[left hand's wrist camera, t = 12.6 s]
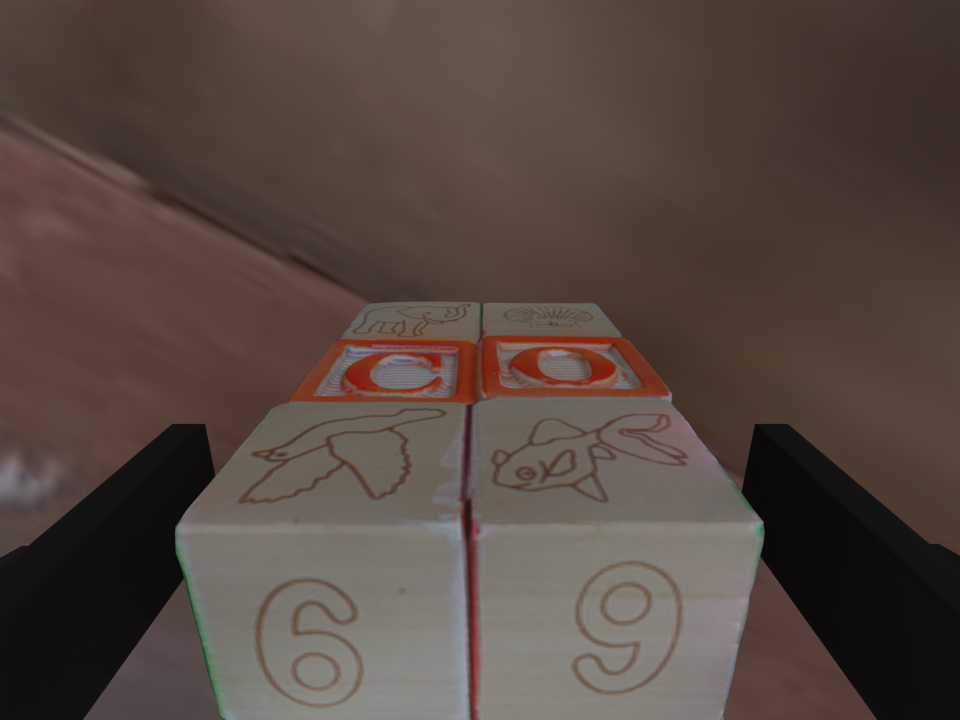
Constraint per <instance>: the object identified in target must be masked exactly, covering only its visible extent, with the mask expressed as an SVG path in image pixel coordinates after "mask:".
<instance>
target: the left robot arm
mask: <svg viewBox="0 0 960 720" xmlns="http://www.w3.org/2000/svg"><path fill="white" fill-rule="evenodd" d="M214 478H215V472H214V467H213V462H212V457H211V452H210V447H209V442H208V437H207V432H206V427H205V424H172V425H171V426H170V427H168V428H167V429H166V430H165V431H164V432H162V433H161V434H160V435H159V436H158V437H157V438H155V439H154V440H153V441H152V442H151V443H149V444H148V445H147V446H146V447H145V448H144V449H142V450H141V451H140V452H139V453H138V454H136V455H135V456H134V457H133V458H132V459H130V460H129V461H128V462H127V463H126V464H125V465H123V466H122V467H121V468H120V469H119V470H117V471H116V472H115V473H114V474H113V475H112V476H110V477H109V478H108V479H107V480H106V481H104V482H103V483H102V484H101V485H100V486H99V487H97V488H96V489H95V490H94V491H93V492H91V493H90V494H89V495H88V496H87V497H86V498H84V499H83V500H82V501H81V502H80V503H78V504H77V505H76V506H75V507H74V508H73V509H71V510H70V511H69V512H68V513H67V514H65V515H64V516H63V517H62V518H61V519H60V520H58V521H57V522H56V523H55V524H54V525H52V526H51V527H50V528H49V529H48V530H47V531H45V532H44V533H43V534H42V535H41V536H39V537H38V538H37V539H36V540H35V541H34V542H32V543H31V544H30V545H29V546H21V547H19V548H17V549H16V550H14V551H12V552H10V553H8V554H7V555H5V556H3V557H1V558H0V720H83V719H84V717H85V716H86V715H87V713H88V712H89V710H90V709H91V708H92V706H93V705H94V703H95V702H96V701H97V699H98V698H99V696H100V695H101V694H102V692H103V691H104V689H105V688H106V687H107V685H108V684H109V682H110V681H111V680H112V678H113V677H114V675H115V674H116V673H117V671H118V670H119V668H120V667H121V666H122V664H123V663H124V661H125V660H126V659H127V657H128V656H129V654H130V653H131V652H132V650H133V649H134V647H135V646H136V645H137V643H138V642H139V640H140V639H141V638H142V636H143V635H144V633H145V632H146V631H147V629H148V628H149V626H150V625H151V624H152V622H153V621H154V619H155V618H156V617H157V615H158V614H159V612H160V611H161V610H162V608H163V607H164V605H165V604H166V603H167V601H168V600H169V598H170V597H171V596H172V594H173V593H174V591H175V590H176V589H177V587H178V586H179V584H180V583H181V582H182V580H183V579H184V576H183V572H182V569H181V566H180V563H179V560H178V557H177V555H176V543H175V527H176V525H177V524H178V522H179V521H180V519H181V518H182V516H183V515H184V514H185V512H186V511H187V509H188V508H189V507H190V506H191V505H192V503H193V502H194V501H195V500H196V499H197V498H198V496H199V495H200V494H201V493H202V492H203V491H204V489H205V488H206V487H207V486H208V485H209V484H210V482H211V481H212V480H213V479H214ZM742 494H743V496H744V497H745V499H746V500H747V501H748V503H749V504H750V506H751V507H752V508H753V510H754V511H755V512H756V513H757V515H758V516H759V517H760V518H761V520H762V521H763V524H764V531H765V533H764V541H763V546H762V550H761V554H760V556H761V558H762V559H763V561H764V562H765V563H766V565H767V566H768V568H769V569H770V570H771V572H772V573H773V575H774V576H775V577H776V579H777V580H778V582H779V583H780V584H781V586H782V587H783V589H784V590H785V591H786V593H787V594H788V596H789V597H790V598H791V600H792V601H793V603H794V604H795V605H796V607H797V608H798V610H799V611H800V612H801V614H802V615H803V617H804V618H805V619H806V621H807V622H808V624H809V625H810V626H811V628H812V629H813V631H814V632H815V633H816V635H817V636H818V638H819V639H820V640H821V642H822V643H823V645H824V646H825V647H826V649H827V650H828V652H829V653H830V654H831V656H832V657H833V659H834V660H835V661H836V663H837V664H838V666H839V667H840V668H841V670H842V671H843V673H844V674H845V675H846V677H847V678H848V680H849V681H850V682H851V684H852V685H853V687H854V688H855V689H856V691H857V692H858V694H859V695H860V696H861V698H862V699H863V701H864V702H865V703H866V705H867V706H868V708H869V709H870V710H871V712H872V713H873V715H874V716H875V717H876V719H877V720H960V556H959V555H958V554H956V553H954V552H952V551H950V550H949V549H947V548H945V547H943V546H941V545H940V544H929V543H928V542H926V541H925V540H924V539H923V538H922V537H921V536H919V535H918V534H917V533H916V532H915V531H913V530H912V529H911V528H910V527H909V526H908V525H906V524H905V523H904V522H903V521H902V520H900V519H899V518H898V517H897V516H896V515H895V514H893V513H892V512H891V511H890V510H889V509H887V508H886V507H885V506H884V505H883V504H882V503H880V502H879V501H878V500H877V499H876V498H874V497H873V496H872V495H871V494H870V493H869V492H867V491H866V490H865V489H864V488H863V487H861V486H860V485H859V484H858V483H857V482H856V481H854V480H853V479H852V478H851V477H850V476H848V475H847V474H846V473H845V472H844V471H843V470H841V469H840V468H839V467H838V466H837V465H835V464H834V463H833V462H832V461H831V460H830V459H828V458H827V457H826V456H825V455H824V454H822V453H821V452H820V451H819V450H818V449H817V448H815V447H814V446H813V445H812V444H811V443H809V442H808V441H807V440H806V439H805V438H804V437H802V436H801V435H800V434H799V433H798V432H796V431H795V430H794V429H793V428H792V427H791V426H789V425H788V424H755V427H754V432H753V437H752V442H751V447H750V452H749V457H748V462H747V467H746V472H745V478H744V483H743V488H742Z"/></svg>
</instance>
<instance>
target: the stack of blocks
mask: <svg viewBox="0 0 960 720" xmlns="http://www.w3.org/2000/svg"><path fill="white" fill-rule="evenodd" d="M671 400H672V393H671V392H670V390H669V389H668V387H667V386H666V385H665V383H664V382H663V381H662V380H661V379H660V377H659V376H658V375H657V374H656V372H655V371H654V370H653V369H652V367H651V366H650V365H649V364H648V362H647V361H646V360H645V359H644V358H643V357H642V356H641V354H640V353H639V352H638V351H637V350H636V349H635V347H634V346H633V345H632V344H631V343H630V341H628V340H626V339H625V338H623V335H622V333H621V332H620V331H619V330H618V329H617V328H616V327H615V326H614V325H613V323H612V322H611V321H610V319H609V318H608V317H607V316H606V315H605V314H604V313H603V312H602V310H601V309H600V308H599V307H598V306H597V305H596V304H593V303H486V304H481V303H475V302H391V303H374V304H368V305H366V306H364V307H363V308H362V310H361V311H360V312H359V313H358V314H357V315H356V317H355V318H354V319H353V320H352V321H351V323H350V324H349V326H348V327H347V329H346V330H345V331H344V333H343V335H342V336H341V337H340V339H338V340H336V341H334V342H333V343H332V344H331V345H330V346H329V348H328V349H327V351H326V352H325V353H324V354H323V355H322V357H321V358H320V359H319V361H318V362H317V363H316V365H315V366H314V367H313V368H312V370H311V371H310V372H309V373H308V374H307V375H306V377H305V378H304V379H303V380H302V382H301V383H300V385H299V386H298V387H297V389H296V390H295V392H294V393H293V394H292V396H291V397H290V399H289V402H288V403H283V404H280V405H278V406H276V407H274V408H272V409H271V410H270V411H269V413H268V414H267V416H266V417H265V418H264V419H263V420H262V421H261V422H260V423H259V424H258V425H257V426H256V428H255V429H254V431H253V432H252V434H251V435H250V436H249V437H248V438H247V439H246V440H245V441H244V442H243V443H242V445H241V446H240V447H239V448H238V449H237V451H236V452H235V453H234V454H233V455H232V456H231V458H230V459H229V460H228V462H227V463H226V464H225V465H224V467H223V468H222V469H221V470H220V472H219V473H218V474H217V475H216V476H215V478H214V479H213V480H212V481H211V482H210V484H209V485H208V486H207V487H206V488H205V489H204V491H203V492H202V493H201V494H200V495H199V496H198V498H197V499H196V500H195V501H194V502H193V503H192V505H191V506H190V507H189V508H188V509H187V511H186V512H185V514H184V515H183V516H182V518H181V519H180V521H179V522H178V524H177V525H176V527H175V543H176V555H177V557H178V560H179V563H180V566H181V569H182V572H183V576H184V580H185V583H186V587H187V591H188V595H189V599H190V603H191V607H192V611H193V614H194V618H195V622H196V625H197V629H198V633H199V636H200V640H201V644H202V648H203V652H204V657H205V662H206V666H207V671H208V674H209V678H210V681H211V685H212V688H213V691H214V694H215V696H216V699H217V705H218V710H219V715H220V716H221V717H222V718H223V719H224V720H724V718H723V713H724V709H725V706H726V702H727V698H728V694H729V690H730V686H731V681H732V677H733V673H734V668H735V663H736V657H737V652H738V647H739V643H740V640H741V636H742V632H743V629H744V626H745V623H746V620H747V616H748V606H749V596H750V593H751V590H752V587H753V584H754V580H755V576H756V571H757V567H758V563H759V558H760V554H761V550H762V546H763V541H764V533H765V531H764V524H763V521H762V520H761V518H760V517H759V516H758V515H757V513H756V512H755V511H754V510H753V508H752V507H751V506H750V504H749V503H748V501H747V500H746V499H745V497H744V496H743V494H742V493H741V492H740V490H739V489H738V487H737V486H736V485H735V483H734V482H733V480H732V479H731V478H730V476H729V475H728V474H727V472H726V471H725V470H724V469H723V467H722V466H721V465H720V464H719V462H718V461H717V460H716V459H715V457H714V456H713V455H712V454H711V453H710V451H709V450H708V449H707V448H706V446H705V445H704V444H703V443H702V442H701V440H700V439H699V438H698V437H697V435H696V434H695V432H694V431H693V429H692V428H691V426H690V425H689V423H688V422H687V421H686V420H685V419H684V417H683V416H682V415H681V414H680V413H679V412H678V411H677V410H676V408H675V406H674V405H673V404H672V403H671Z"/></svg>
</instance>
